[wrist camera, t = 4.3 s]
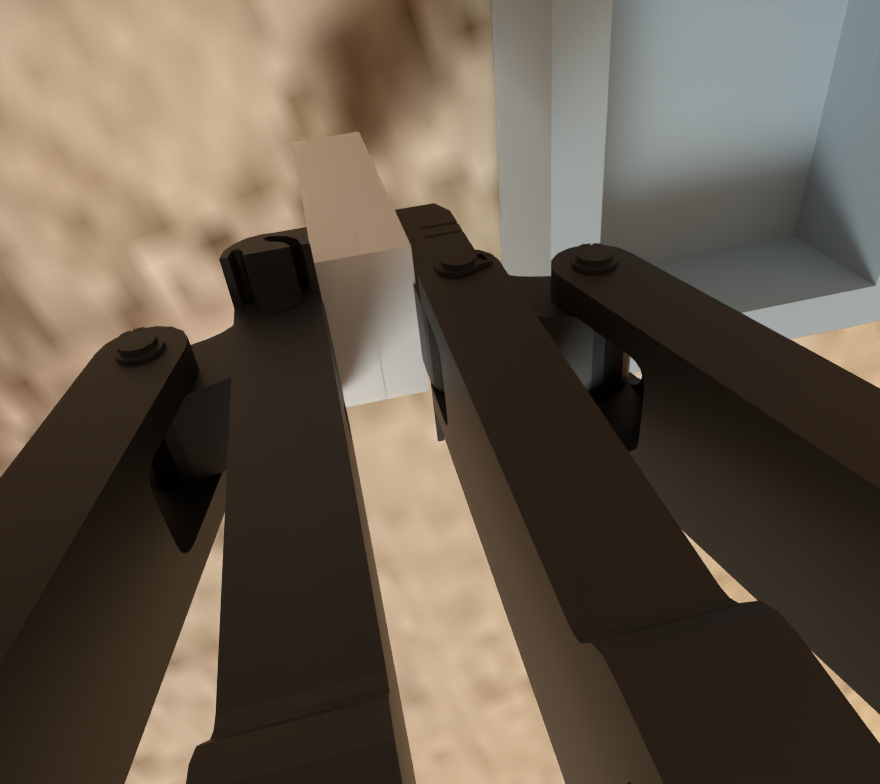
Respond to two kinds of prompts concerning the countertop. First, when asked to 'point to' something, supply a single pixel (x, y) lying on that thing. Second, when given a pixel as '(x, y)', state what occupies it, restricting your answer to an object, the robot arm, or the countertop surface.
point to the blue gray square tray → (699, 146)
